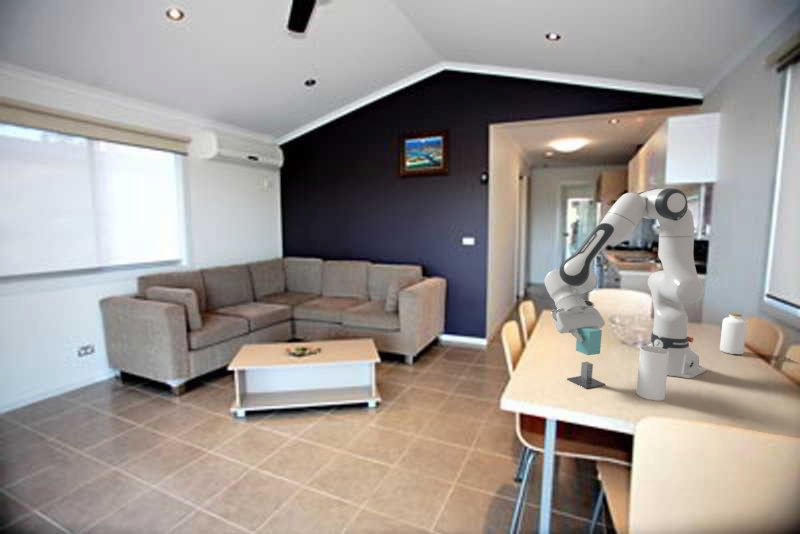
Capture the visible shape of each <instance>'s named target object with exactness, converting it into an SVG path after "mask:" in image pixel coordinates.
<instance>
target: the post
mask: <svg viewBox="0 0 800 534" xmlns="http://www.w3.org/2000/svg"><path fill="white" fill-rule="evenodd" d="M593 368H594V364H593V363H591V362H589V361H583V362H581V367H580V375H577V376H572V377H568V378H566V381H569V382H571V383H573V384H575V385H577V386H579V385H580V386H579V387H581V386H582V387H581V388H583V387H584V388H583V389H585V388H586V389H585V390H589V388H590V389H595V388H600V387H604V386H606V383H604V382H601V380H597V379H595V378H593Z"/></svg>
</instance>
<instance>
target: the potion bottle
mask: <svg viewBox="0 0 800 534" xmlns="http://www.w3.org/2000/svg"><path fill="white" fill-rule="evenodd" d="M747 324H748V323H747V321H746V320H745V319H743V318H742V314H741V313H738V312H729V314H728V317H724V318H723V319H722V325H721V334H720V340H719V341H720V342H719V351H721V352H722V351H723V352H722V353H724V352H726V353H725V354H727V353H730V354H729V355H732V354H741V355H743V354H744V349H745V341H746V335H747V333H746V332H747Z"/></svg>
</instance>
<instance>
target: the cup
mask: <svg viewBox="0 0 800 534" xmlns="http://www.w3.org/2000/svg"><path fill="white" fill-rule="evenodd" d="M668 359H669V351H668V350H666V349H664V348H660V347H655V346H649V345H642V346H640V347H639V359H638V368H637V369H638V371H637V381H636V394H637V395H638V396H639V397H641V398H643V399H646V400H648V401H658V402H659V401H664V400H665V398H666V392H667V391H666V388H667V378H668V375H667V370H668Z"/></svg>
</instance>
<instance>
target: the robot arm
mask: <svg viewBox="0 0 800 534" xmlns="http://www.w3.org/2000/svg"><path fill="white" fill-rule="evenodd" d="M643 219H647V220H657V222H658V224H659V233H658V251H657V252H658V259H659V260H660V261H661V264H662V268H663V269H662V270H657V271H654V272H652V273H651V274H650V276H648V279H647V287H648V288H649V291H650V294H651V301H652V305H653V307H652V308H653V325H652V328H653V329H652V332H651V333H650V334H651V335H650V343H649V344H648V346H655V347H660V348H664V349H666V350H668V351H669V359H668V370H667V376H671V377H677V378H678V377H679V378H685V379H692V378H695V377H698V375H701V374H703V373H705V372H707V369H706V368H705V366H702V365H700V356H699V354H697V353H696V351H694V350H693V349H692V348H691V347H690V344H689V343H693V342H694V337H692V336H688V326H689V317H688V314H687V312H686V310H685V305H692V304H696V303H697V302H699V301H700V300H701V299H702V298H703V296H704V294H705V287H704V284H703V283H702V282H701V280H700V279H699V275H698V272H697V269H696V264H695V258H694V245H695V244H694V243H695V239H694V238H695V224H694V217H693V212H692V211H691V209H689V207H688V198H687V196H686V194H685V193H684V191H682V189H681V190H680V189H678V188H673V187H671V188H670V187H669V188H656V189H652V190H651V189H650V190H646V191H641V192H639V193H635V192H626V193H624V194H622V195H620V197H619V198H618V199H617V200H616V201H615V203H613V205H612V206H611V207H610V208H609V210H608V211H607V213H606V214H605V216H603V218H602V220H601V222H600V223H598V225H597V226H596V227H595V228H594V229H593V230H592V231H591V232H590V234H589V235H588V236H587V237H586V239H585V240H584V241H583V243H582V244H581V245H580V246H579V248H577V250H576V251H575V252H574V253H573V254H572V255H570V256H569V257H568V258H566V259H565V260H564V261H563V262H562V263H561V265H560V267H559V268H554V269H552V270H550V271H549V272H548V273H547V274H546V275H545V277H544V279H543V281H544V286H545V288H546V291H547V292H548V293H547V294H549V297H550V298H551V299H552V300H553V302H554V304H555V305H554V306H555V307H556V309H552V311H551V313H550V315H551V318H552V319H553V323H554V326H555V328H556V331H557V332H558V333H559V334H563V335H564V334H571V335H572V336H573V337H574V338H575V339H576V340H577V339H578V341H579V343H581V342H584V341H585V338H584V337H583V336H581V335H580V334H579V333H578V330H577V329H579V328H586V327H594V328H597V329H600V330H601V329H602V328H603V327H605V323H606V322H605V320H604V317H603V316H602V315H601V312H599V310H598V309H597V308H596V307H595V303H594V302H593V301H590V300H587V299H583V298H580V297H579V296H581V295H583V294H586V293H589V292H591V291H592V290H594V289H595V288H596V286H597V284H598V276H597V274H596V273H595V272H594V271H593V270H592V268H591V265H592V262H593V261H594V260H595V258H596V257H597V256H598V255H599V253H600V252H601V251H602V249H603V248H604V247H605V246H606V245H607V244H608V245H609V244H610V243H611V244H618V243H623V242H624V241H626V240H627V239H628V238H629V237H630V236H631V234H632V233H633V231H634V230H635V228H637V225H638V224H639V223H640V221H641V220H643Z"/></svg>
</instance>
